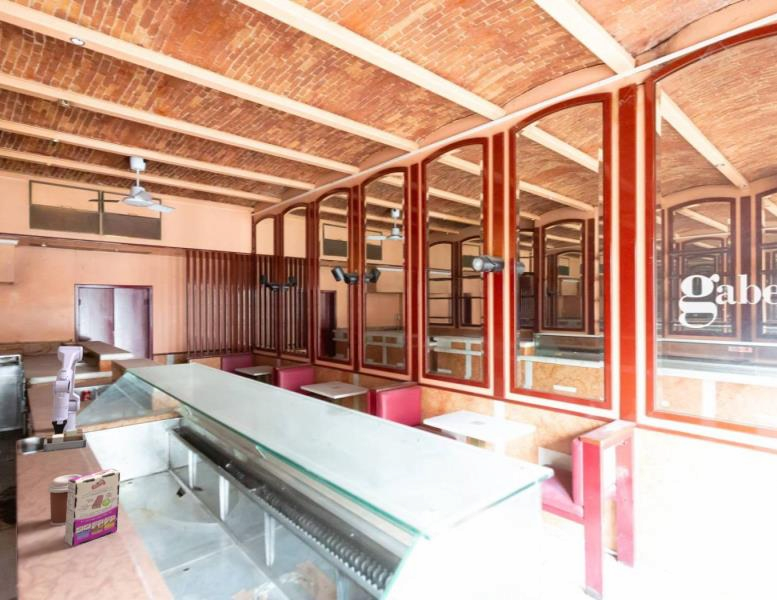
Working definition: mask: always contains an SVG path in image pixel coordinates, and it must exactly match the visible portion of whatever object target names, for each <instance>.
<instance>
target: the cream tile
mask: <svg viewBox="0 0 777 600" xmlns="http://www.w3.org/2000/svg"><path fill="white" fill-rule="evenodd" d="M63 438H64V434H56V435H53V438H52V443H61V442H63Z"/></svg>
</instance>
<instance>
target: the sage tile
mask: <svg viewBox="0 0 777 600" xmlns="http://www.w3.org/2000/svg"><path fill="white" fill-rule="evenodd" d="M77 430H78V428H76V429H69V430H66V436H71V435H77Z"/></svg>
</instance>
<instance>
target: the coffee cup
mask: <svg viewBox="0 0 777 600" xmlns="http://www.w3.org/2000/svg"><path fill="white" fill-rule="evenodd" d="M81 476H82V475H81V474H76V473H75V474H65V475H60V476H57V477H55V478H53V480H52V482H51V483H50V484H49V485H48V487H47V490H46V491H47V492H49V494H50V495H49V496H50V497H49V498H50V501H49V503H50V525H51V526H57V527H58V526H61V527H62V526H66V513H67V496H68V480H69V479H73V478H77V477H81Z"/></svg>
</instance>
